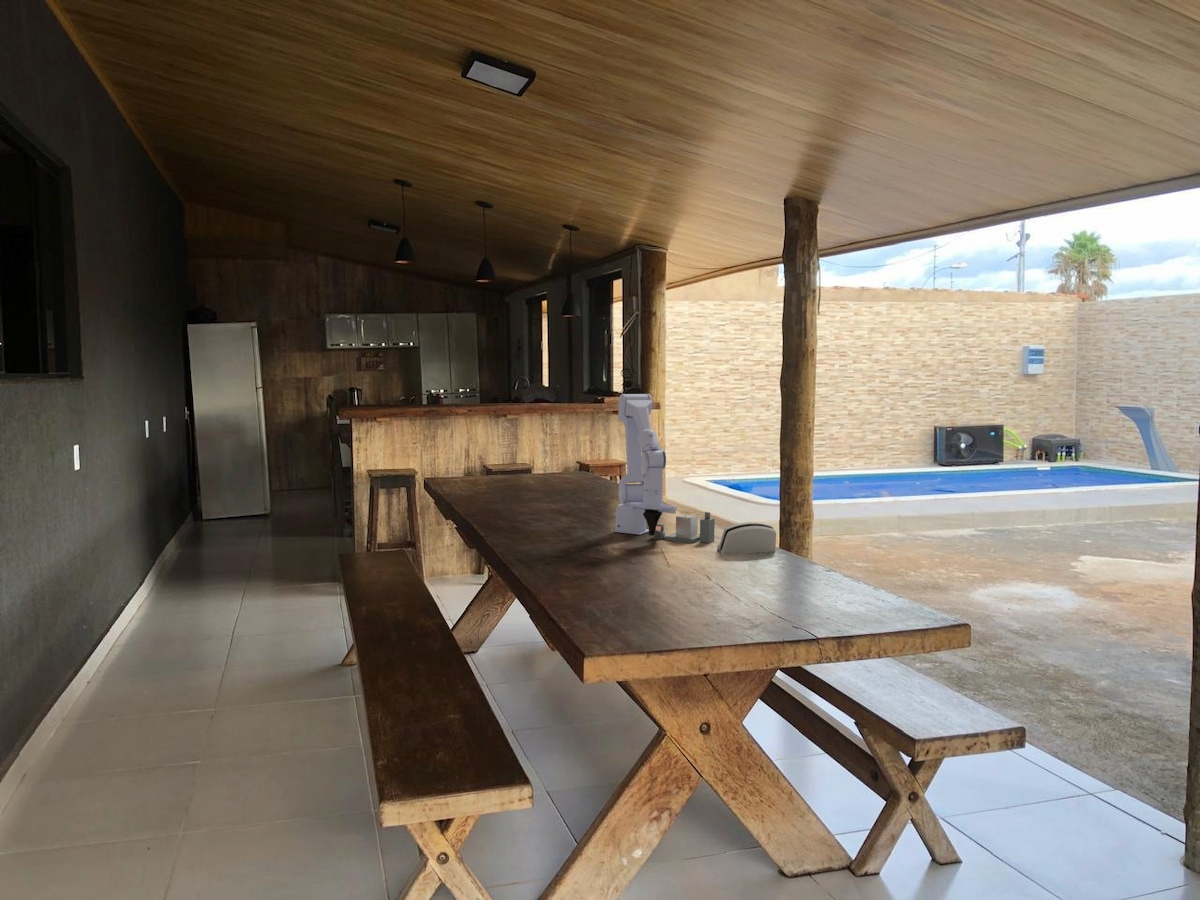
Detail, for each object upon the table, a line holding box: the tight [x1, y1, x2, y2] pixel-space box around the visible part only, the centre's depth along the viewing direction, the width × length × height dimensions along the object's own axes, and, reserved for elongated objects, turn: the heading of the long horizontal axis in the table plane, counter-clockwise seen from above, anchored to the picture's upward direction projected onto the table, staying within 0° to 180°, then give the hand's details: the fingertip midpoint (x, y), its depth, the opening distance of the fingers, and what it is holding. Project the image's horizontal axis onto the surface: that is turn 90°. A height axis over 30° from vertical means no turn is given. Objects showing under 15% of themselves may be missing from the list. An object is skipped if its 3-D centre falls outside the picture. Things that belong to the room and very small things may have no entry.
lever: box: [654, 522, 665, 538], centre depth 284 cm, size 3×14×2 cm, turn 175°
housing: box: [675, 513, 699, 538], centre depth 287 cm, size 5×5×6 cm
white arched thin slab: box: [716, 521, 777, 555], centre depth 269 cm, size 17×5×10 cm, turn 105°
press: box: [651, 511, 716, 544], centre depth 287 cm, size 18×10×9 cm, turn 59°
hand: (652, 535), depth 281 cm, fingers closed, pressing on lever
